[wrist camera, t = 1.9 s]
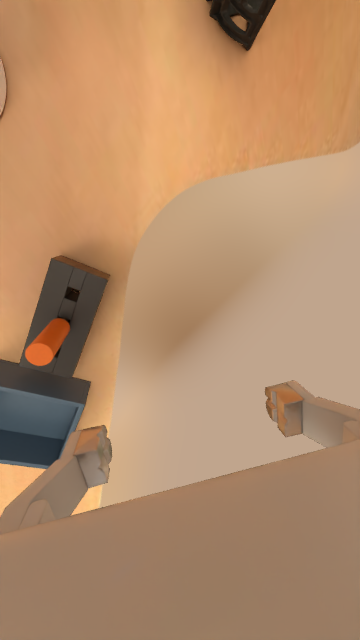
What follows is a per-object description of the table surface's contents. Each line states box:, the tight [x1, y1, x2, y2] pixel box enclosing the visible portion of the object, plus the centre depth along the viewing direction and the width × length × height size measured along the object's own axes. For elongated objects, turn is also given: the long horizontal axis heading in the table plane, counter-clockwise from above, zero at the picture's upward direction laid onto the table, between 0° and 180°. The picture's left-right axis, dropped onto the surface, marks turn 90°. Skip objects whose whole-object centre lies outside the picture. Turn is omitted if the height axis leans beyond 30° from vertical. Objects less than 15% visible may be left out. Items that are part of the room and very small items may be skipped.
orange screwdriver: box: [25, 318, 70, 366], centre depth 33 cm, size 3×3×15 cm
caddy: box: [19, 256, 110, 378], centre depth 38 cm, size 8×17×5 cm, turn 155°
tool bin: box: [0, 360, 91, 469], centre depth 41 cm, size 17×15×7 cm
